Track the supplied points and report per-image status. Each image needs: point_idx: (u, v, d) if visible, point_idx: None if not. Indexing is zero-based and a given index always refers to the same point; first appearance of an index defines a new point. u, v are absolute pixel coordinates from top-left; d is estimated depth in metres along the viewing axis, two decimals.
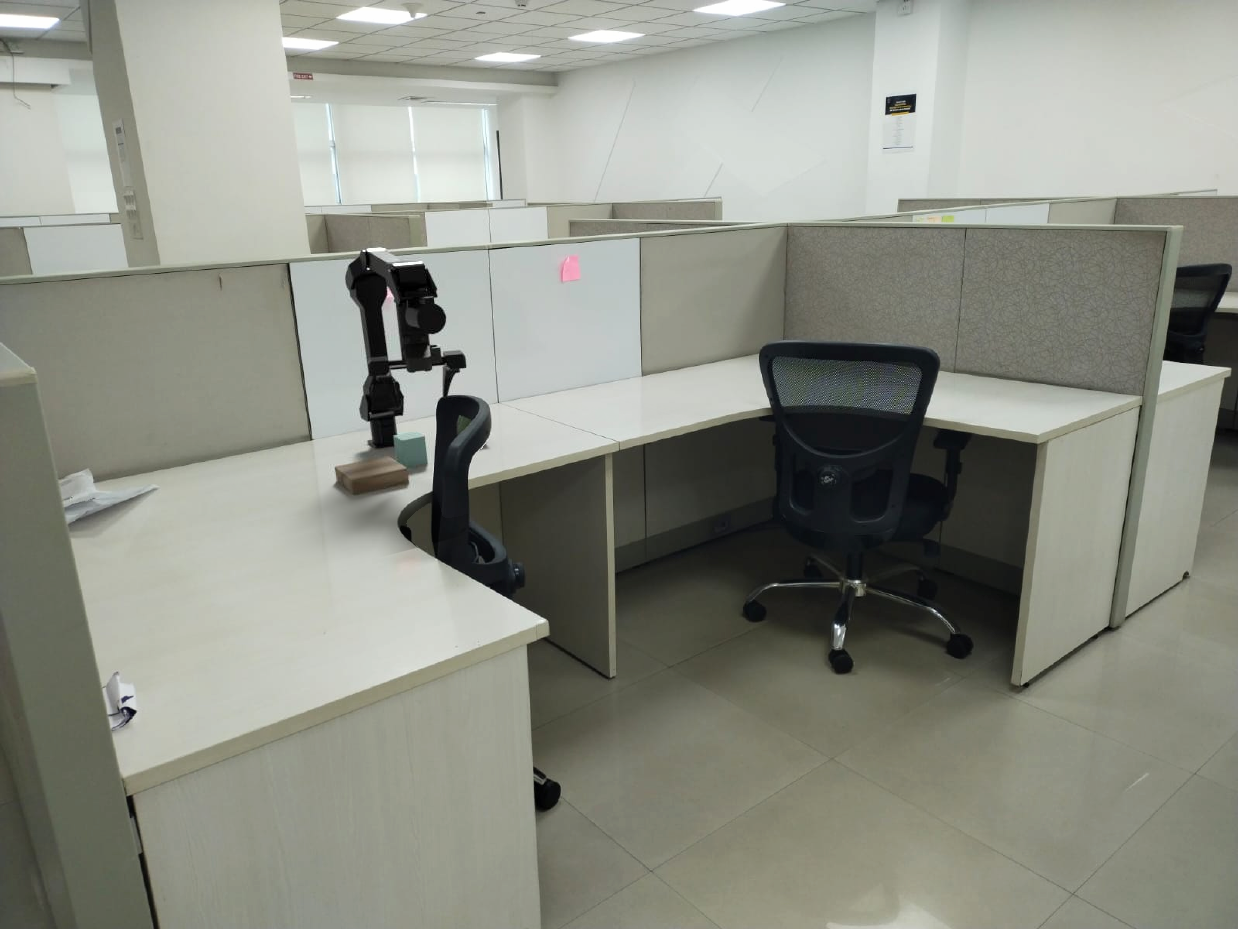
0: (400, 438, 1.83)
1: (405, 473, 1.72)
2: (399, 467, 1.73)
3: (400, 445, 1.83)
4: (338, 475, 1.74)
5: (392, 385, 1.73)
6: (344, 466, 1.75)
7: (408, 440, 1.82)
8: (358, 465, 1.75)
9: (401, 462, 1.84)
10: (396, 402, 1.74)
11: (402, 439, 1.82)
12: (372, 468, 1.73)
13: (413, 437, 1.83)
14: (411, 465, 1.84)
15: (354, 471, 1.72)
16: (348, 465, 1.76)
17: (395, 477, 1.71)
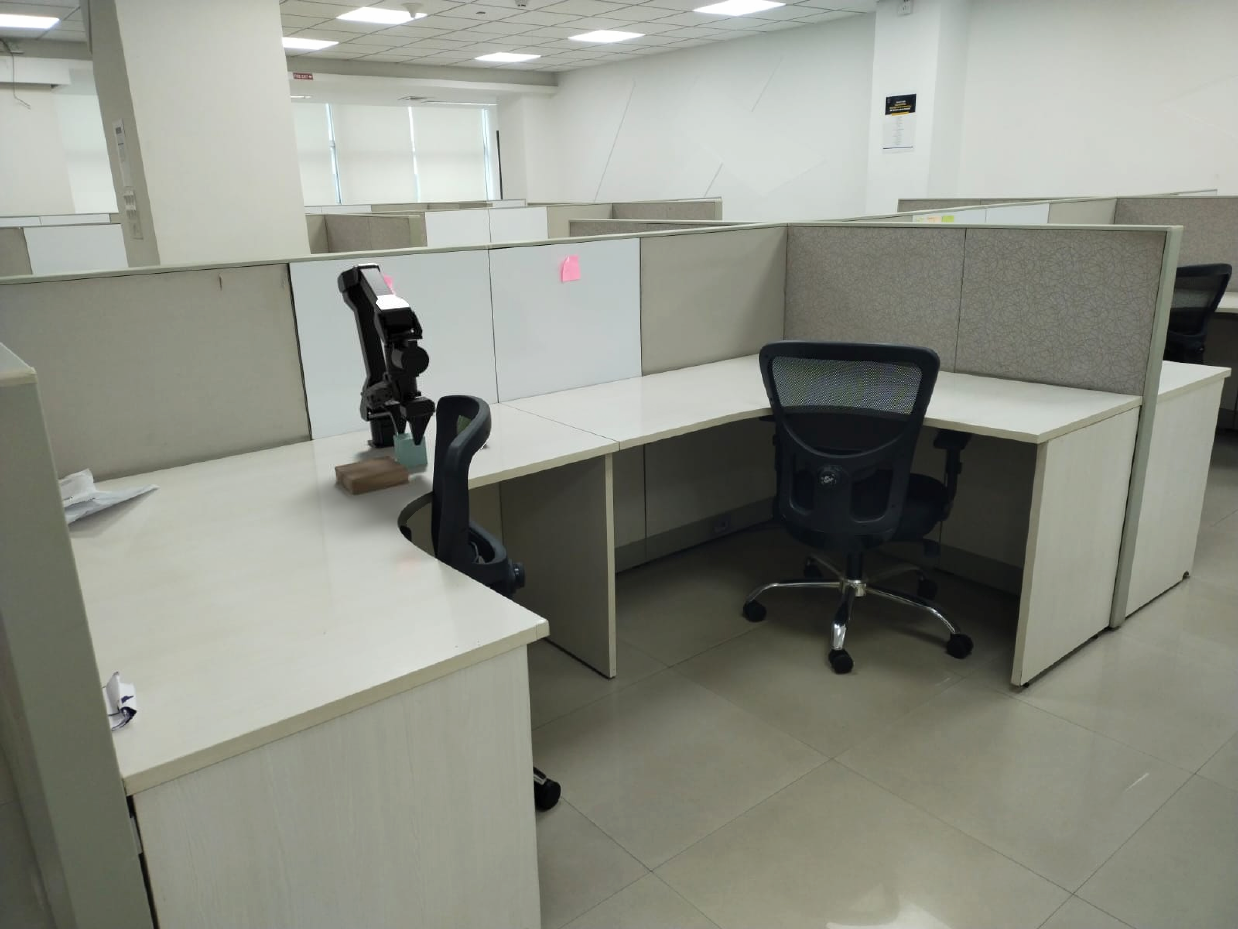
0: (400, 438, 1.83)
1: (405, 473, 1.72)
2: (399, 467, 1.73)
3: (400, 445, 1.83)
4: (338, 475, 1.74)
5: (391, 414, 1.87)
6: (344, 466, 1.75)
7: (408, 440, 1.82)
8: (358, 465, 1.75)
9: (401, 462, 1.84)
10: (396, 430, 1.88)
11: (402, 439, 1.82)
12: (372, 468, 1.73)
13: None
14: (411, 465, 1.84)
15: (354, 471, 1.72)
16: (348, 465, 1.76)
17: (395, 477, 1.71)
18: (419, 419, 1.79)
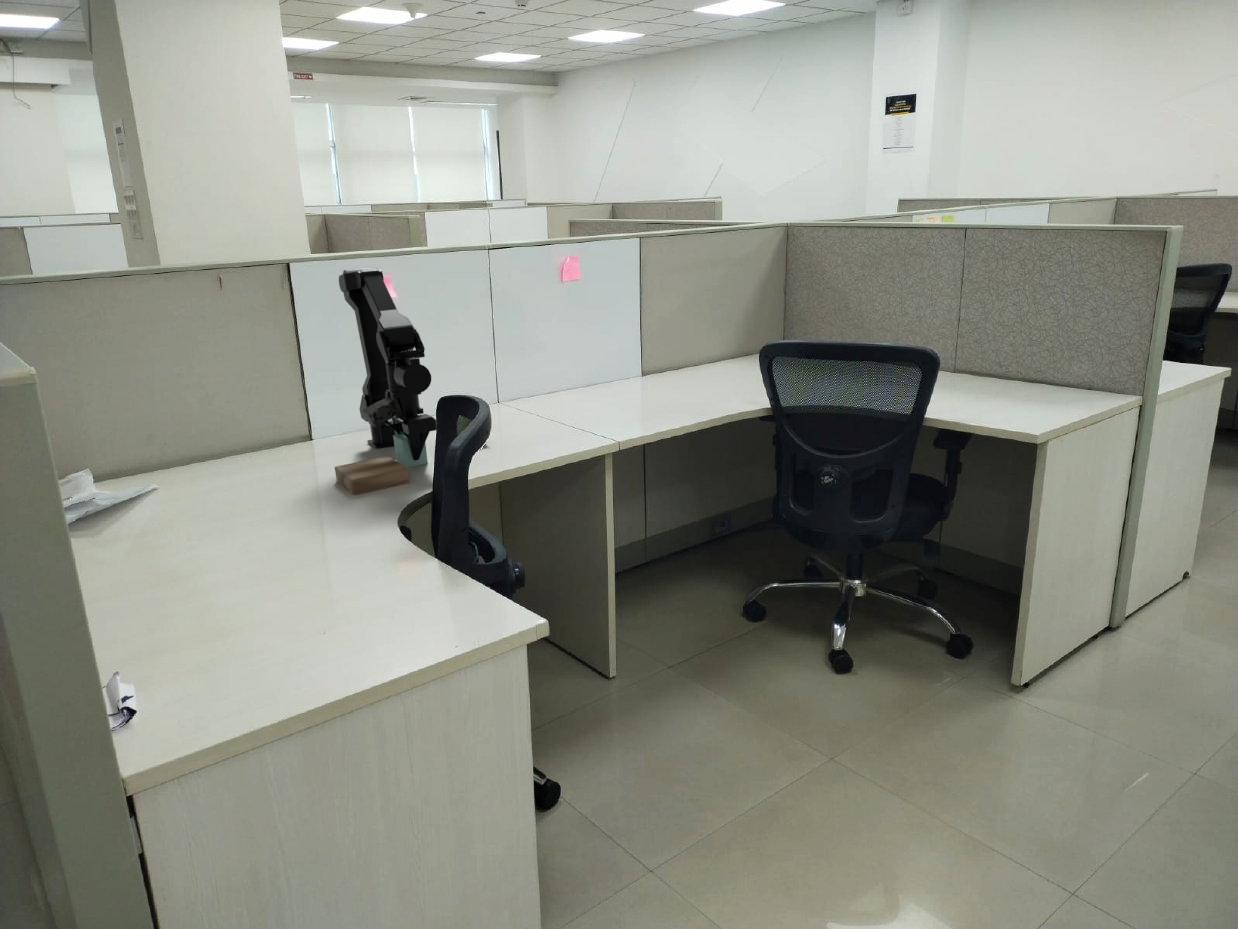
0: (400, 438, 1.83)
1: (405, 473, 1.72)
2: (399, 467, 1.73)
3: (399, 445, 1.83)
4: (338, 475, 1.74)
5: (396, 433, 1.86)
6: (344, 466, 1.75)
7: None
8: (358, 465, 1.75)
9: (401, 462, 1.84)
10: None
11: (402, 439, 1.82)
12: (372, 468, 1.73)
13: None
14: (411, 465, 1.84)
15: (354, 471, 1.72)
16: (348, 465, 1.76)
17: (395, 477, 1.71)
18: (417, 435, 1.81)
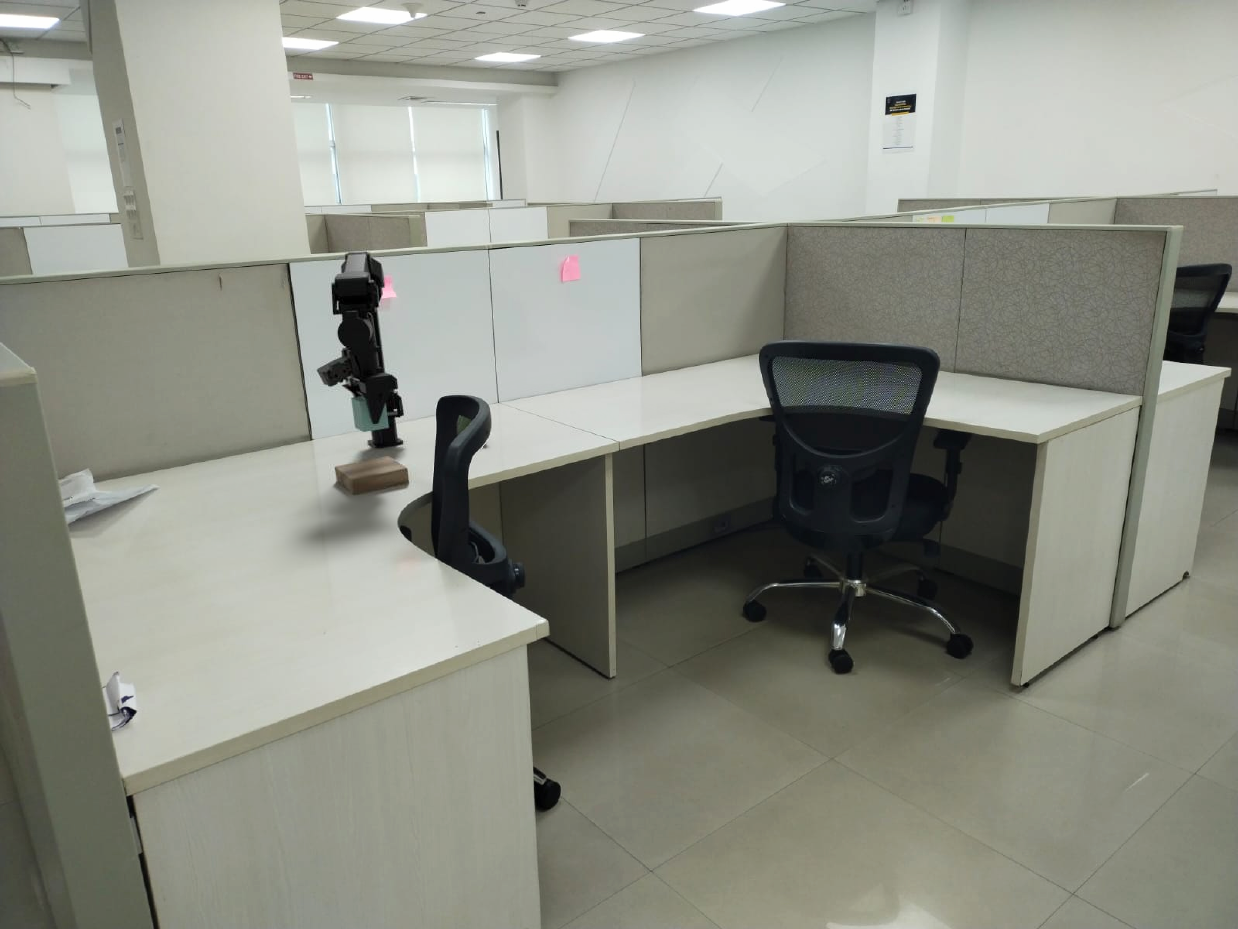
0: (358, 399, 1.69)
1: (405, 473, 1.72)
2: (399, 467, 1.73)
3: (358, 407, 1.69)
4: (338, 475, 1.74)
5: (354, 395, 1.73)
6: (344, 466, 1.75)
7: None
8: (358, 465, 1.75)
9: (359, 426, 1.71)
10: None
11: (360, 400, 1.68)
12: (372, 468, 1.73)
13: None
14: (370, 429, 1.70)
15: (354, 471, 1.72)
16: (348, 465, 1.76)
17: (395, 477, 1.71)
18: (376, 396, 1.68)
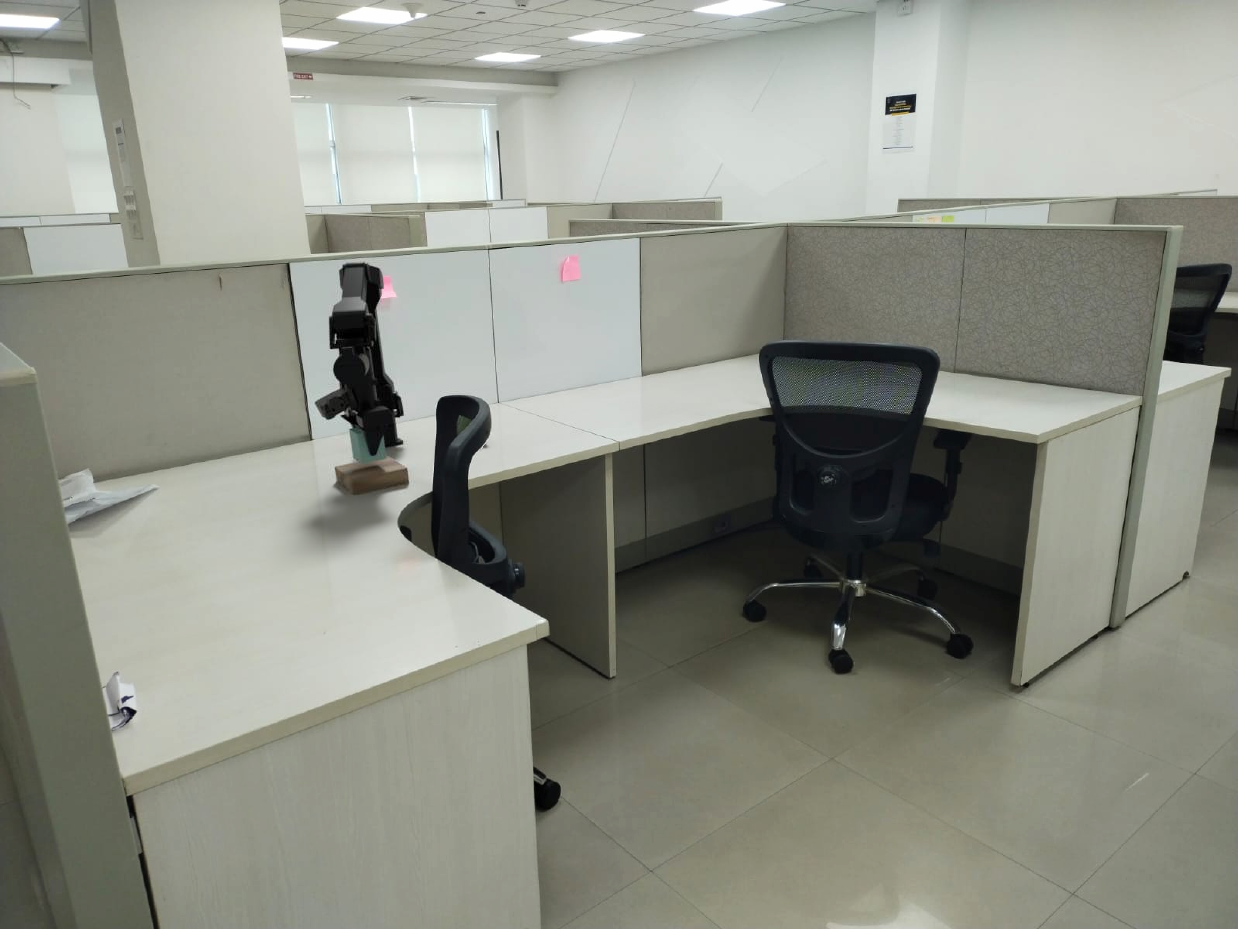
0: (356, 431, 1.70)
1: (405, 473, 1.72)
2: (399, 467, 1.73)
3: (355, 439, 1.70)
4: (338, 475, 1.74)
5: (352, 426, 1.73)
6: (344, 466, 1.75)
7: None
8: (358, 465, 1.75)
9: (357, 457, 1.71)
10: None
11: (358, 432, 1.69)
12: (372, 468, 1.73)
13: None
14: (368, 460, 1.71)
15: (354, 471, 1.72)
16: (348, 465, 1.76)
17: (395, 477, 1.71)
18: (374, 428, 1.69)
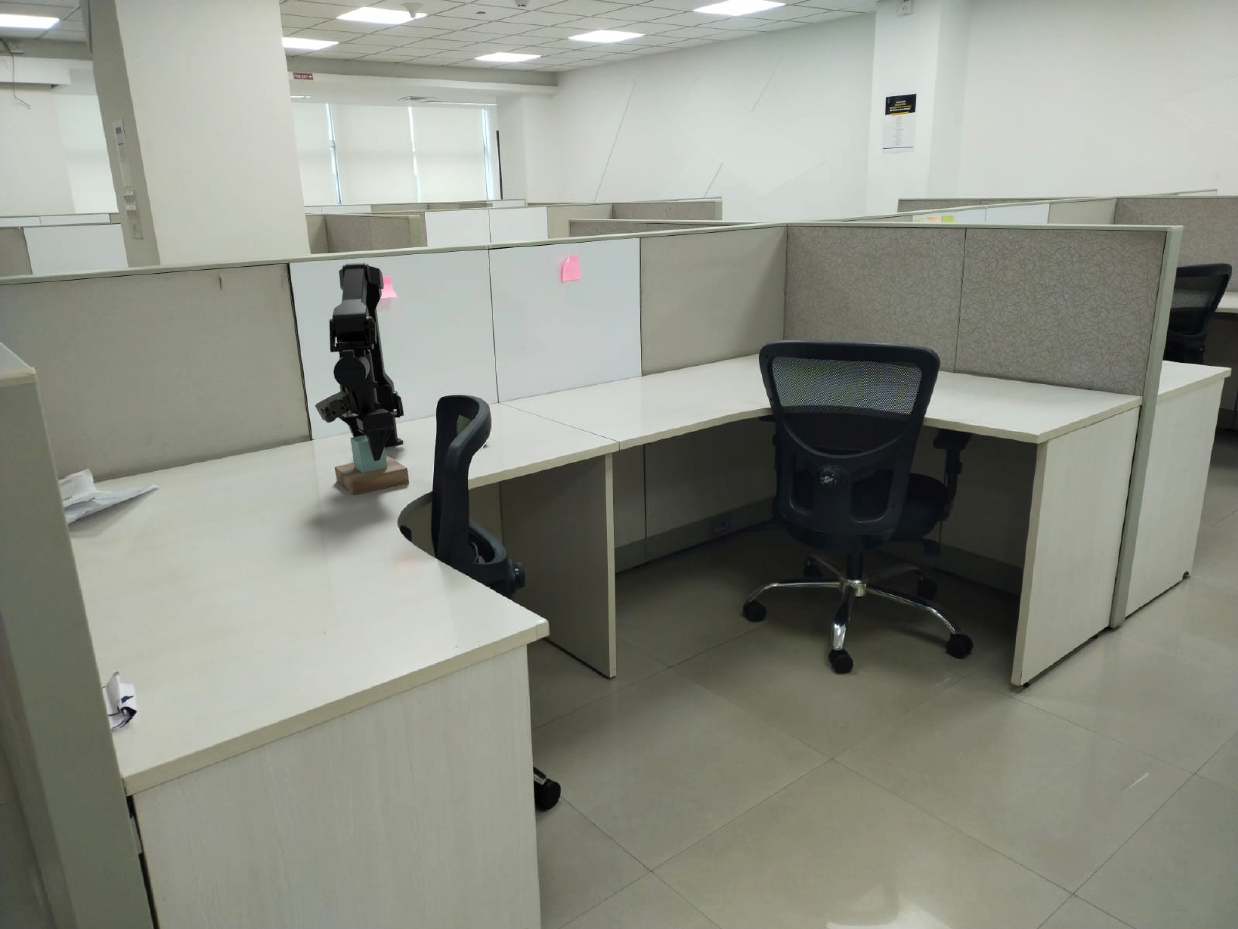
0: (357, 440, 1.71)
1: (405, 473, 1.72)
2: (399, 467, 1.73)
3: (356, 448, 1.71)
4: (338, 475, 1.74)
5: (350, 427, 1.75)
6: (344, 466, 1.75)
7: (365, 443, 1.70)
8: None
9: (358, 466, 1.72)
10: None
11: (359, 441, 1.70)
12: None
13: None
14: (369, 469, 1.71)
15: (354, 471, 1.72)
16: (348, 465, 1.76)
17: (395, 477, 1.71)
18: (378, 433, 1.67)
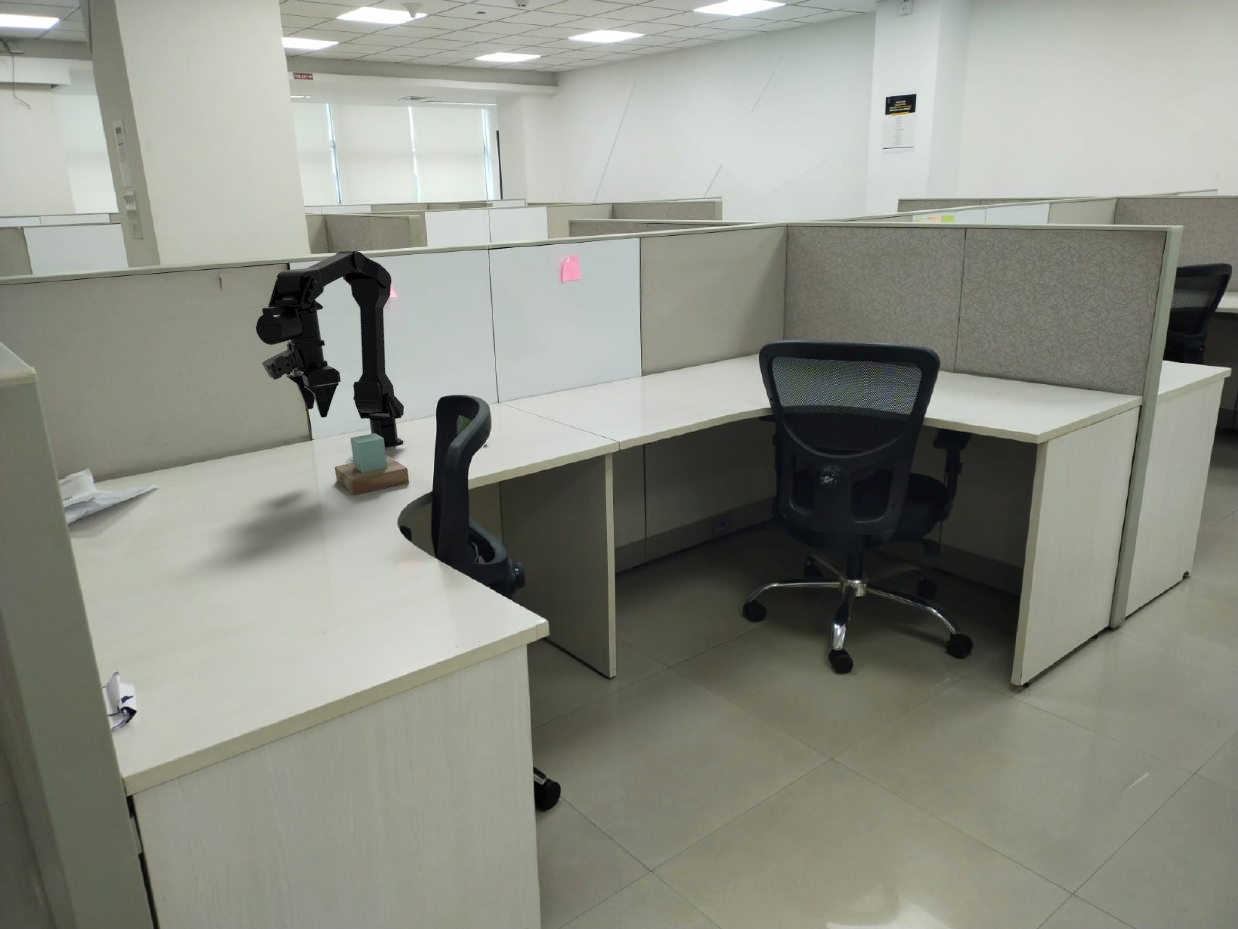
0: (357, 440, 1.71)
1: (405, 473, 1.72)
2: (399, 467, 1.73)
3: (356, 448, 1.71)
4: (338, 475, 1.74)
5: (298, 386, 1.79)
6: (344, 466, 1.75)
7: (365, 443, 1.70)
8: None
9: (358, 466, 1.72)
10: (305, 403, 1.80)
11: (359, 441, 1.70)
12: None
13: (371, 439, 1.71)
14: (369, 469, 1.71)
15: (354, 471, 1.72)
16: (348, 465, 1.76)
17: (395, 477, 1.71)
18: (324, 390, 1.71)
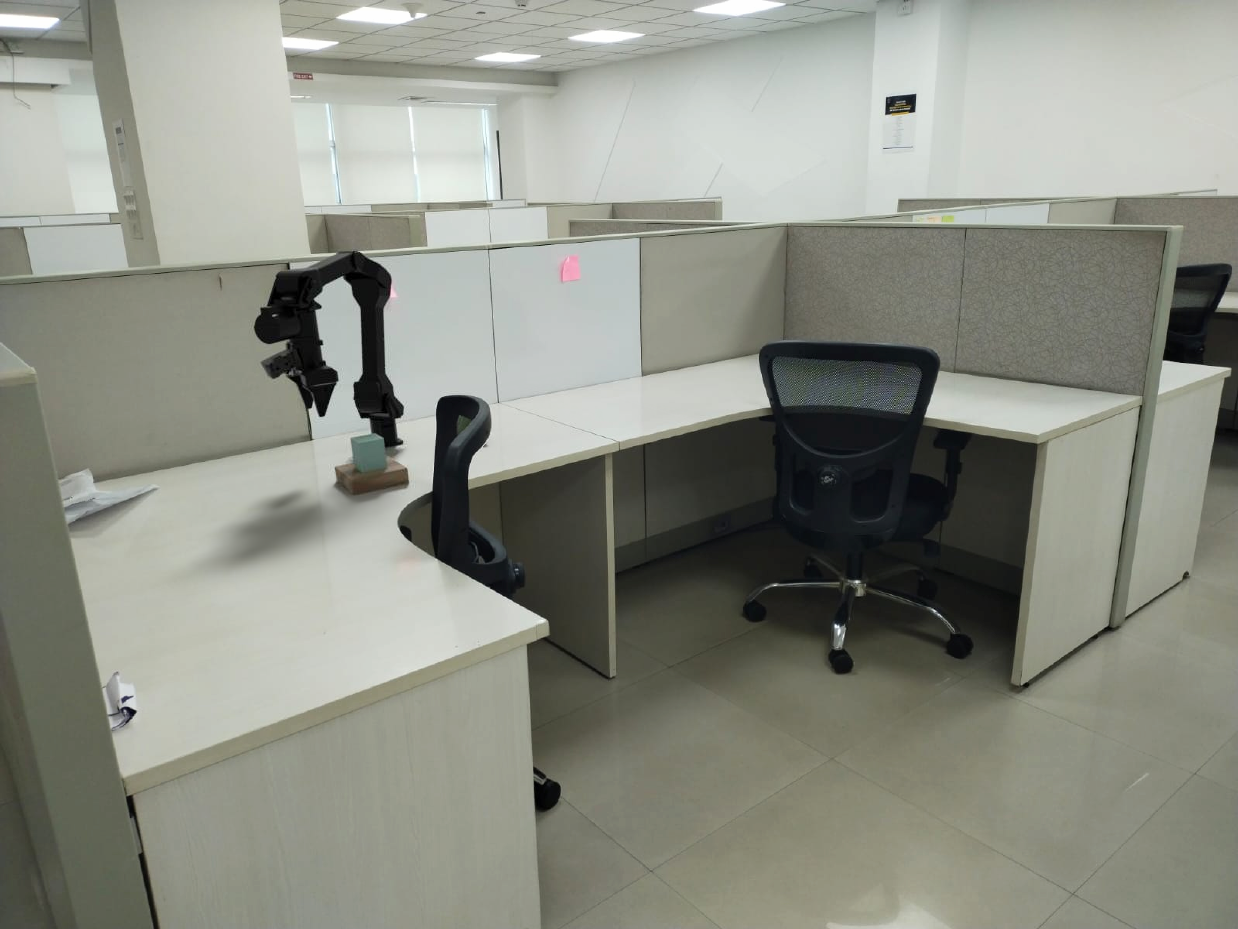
0: (357, 440, 1.71)
1: (405, 473, 1.72)
2: (399, 467, 1.73)
3: (356, 448, 1.71)
4: (338, 475, 1.74)
5: (297, 385, 1.79)
6: (344, 466, 1.75)
7: (365, 443, 1.70)
8: None
9: (358, 466, 1.72)
10: (304, 403, 1.80)
11: (359, 441, 1.70)
12: None
13: (371, 439, 1.71)
14: (369, 469, 1.71)
15: (354, 471, 1.72)
16: (348, 465, 1.76)
17: (395, 477, 1.71)
18: (322, 389, 1.71)
